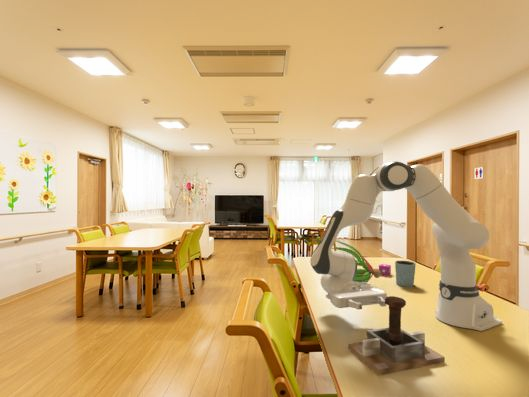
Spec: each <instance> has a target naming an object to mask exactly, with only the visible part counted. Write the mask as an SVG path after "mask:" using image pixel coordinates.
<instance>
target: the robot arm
mask: <svg viewBox="0 0 529 397" xmlns="http://www.w3.org/2000/svg"><path fill="white" fill-rule="evenodd" d="M403 189H405V190H407V191H408V192H409V194H410V195H411V197H412V198H413V199H414V201H415V202H416V204H417V205H418V207H419V208H420V209H421V210H422V212H423V213H424V214H425V216H426V217H428V218H429V219H430V220H431V221H432V222H434V223H433V224H432V227H431V228H432V229H431V232H432V234H433V236H434V237H435V240H436V245H437V249H438V253H439V258H440V259H439V260H440V280H439V284H438V286H439V288H438V290H439V293H438V297H437V298H438V299H437V305H436V306H437V307H436V308H435V318H436V319H437V320H438V321H440V322H442V323H445V324H447V325H451V326H453V327H459V328H464V329H470V330H476V331H480V332H482V331H486V330H488V329H491V328H493V327H496V326H498V325H501V324H503V322H502V320H501V319H500V318H498V317H496V316H495V314H494V308H493V306H492V304H491V303H490V302H488V301H487V300H486V299H485V298H483V297H482V296H481V295H480V292H484V291H485V286H483V285H480V284H477V285H476V280H477V279H476V275H477V274H476V272H477V271H476V267H477V266H476V262H475V261H474V259H473V258H472V255H471V252H470V250H471V251H472V250H479V249H482V248H484V247H485V246H486V245H487V244H488V243H489V240H490V231H489V229H488V228H487V227H486V226H485V224H483V223H481V222H480V221H479V220H477V219H475V217H474V216H472V215H471V214H470V213H469V212H468V211H467V210H466V209H464V208H463V206H462V205H460V204H459V203H458V201H456V200H455V198H453V196H452V195H451V193H450V192H449V191H448V190H447V188H446V186H445V185H444V184H443V183H442V181H441V180H440V179H439V178H438V177H437V175H436V174H434V172H433V171H432V170H431V169H429V168H428V167H427V166H426V165H425V164H422V163H421V164H419V163H417V164H414V165H411V166H410V165H408V164H405V163H404V162H402V161H389V162H386V163H383V164H381V165H380V166H378V167H376V168H375V169H374V170H373V171H372V172H371V173H370V174H366V173H363V174H359V175H356V176H355V177H354V179H353V180H352V183H351V184H350V186H349V189H348V192H347V195H346V198H345V201H344V203H343V205H342V206H341V207H340V208H339V209H337V210H335V211H334V212H333V214H332V215H331V217H330V219H329V221H328V223H327V224H326V228H325V229H324V232H323V234H322V236H321V238H320V240H319V242H318V245H317V246H316V248H315V249H314V250H313V252H312V254H311V256H310V266H311V267H312V270H313V271H314V272H315V273H316V274H318V275H321V278H320V285H321V287H322V289H323V290H324V292H326V293H327V294H326V295H325V298H327V299H328V300H329V301H330V304H332V305H333V306H334V307H335V308H338V309H344V308H354V309H356V310H362V309H363V306H371V305H373V306H374V305H378V306H380V307H387V304H385V298H386V297H388V295H387V294H388V293H387V292H386V291H385V290H382V289H381V288H378V287H377V286H374V285H371V283H370V282H364V281H363V282H356V281H353V280H354V278H355V276H356V273H357V269H358V265H357V263H356V260H357V259H356V258H355V257H354V255H352V254H350V253H349V254H347V253H348V252H344V251H342V252H341V251H338V250H334V249H332V248H334V245H335V242H336V241H335V240H337V237H338V236H339V233H341V231H342V230H343V229H346V228H347V227H351V226H357V225H361V224H364V223H366V222H367V221H368V220H370V218H371V216H372V215H373V212H374V208H375V205H376V202H377V201H376V200H377V198H378V196H379V194H380V193H382V192H394V191H398V190H403Z"/></svg>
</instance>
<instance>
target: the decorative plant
mask: <svg viewBox="0 0 529 397" xmlns="http://www.w3.org/2000/svg"><path fill="white" fill-rule="evenodd" d="M335 242H337V243H338V244H341V245H343V246H345V247H346V248H345V247H340V246H339V247H337V246H335V244H334V245H333V247H332V249H331V250H336V251H338V250H339V251H342V252H344V253H347V254H351V255H353V257H354V258H355V260H356V263H357V266H358V267H362V268H357V273H356V276H355V278H354V280H353V281H356V282H367V283H369V281H370V280H371V278H373V277H374V278H375V279H379V278H380V277H381V276H383V275H382V274H381V272H380V271H379V268H373V266H372V264H370V263H369V262H368V260H367V259H366V257H364V256H363V255H362V253H361V252H360V251H359V250H358V249H356V248H355V247H353V246H352V245H349V244H348V243H346V242H343V241H342V242H341V241H340V240H337V239H336V240H335ZM347 247H348V248H347Z"/></svg>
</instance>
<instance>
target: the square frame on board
mask: <svg viewBox="0 0 529 397" xmlns="http://www.w3.org/2000/svg"><path fill="white" fill-rule="evenodd" d="M387 329H389V327H383V328H377V329H369V330H366V339H363V340H362V341H359V342H351V343H348V344H347V345H348V346H347V347H348V350H349V351H350V352H352V354H353V355H355V356H356V357H357V358H358V359H359V360H360V361H361V362H362V363H364V364H365V365H366V366H367V367H368V368H369V369H371V370H372V371H373V372H374V373H376V374H377V376H382V375H387V374H392V373H397V372H402V371H406V370H407V371H408V370H413V369H418V368H421V367H427V366H432V365H433V366H434V365H437V364H438V365H439V364H443V363H445V361H446V360H445V358H446V356H444V355H442V354H441V353H438V352H437V351H436V350H434V349H433V348H430V347H429V346H427V345H426V343H425V342H426V340H425V339H426V333H425V332H424V331H414V332H413V331H412V332H407V331H405V330H403V329H402V328H401V331H402V332H403V334H404V338H403V340H402V341H400V345H396V346H392V345H390V344H389V339H388V338H387V337H386V330H387Z"/></svg>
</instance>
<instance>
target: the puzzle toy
mask: <svg viewBox="0 0 529 397" xmlns="http://www.w3.org/2000/svg"><path fill="white" fill-rule="evenodd" d="M391 268H392V265H391V264H384V263H381V264H379V265H378V270H379V271H380V272H381V274H382V275H381V276H383V277H384V276H385V277H390V275H391V273H392V270H391Z"/></svg>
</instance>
